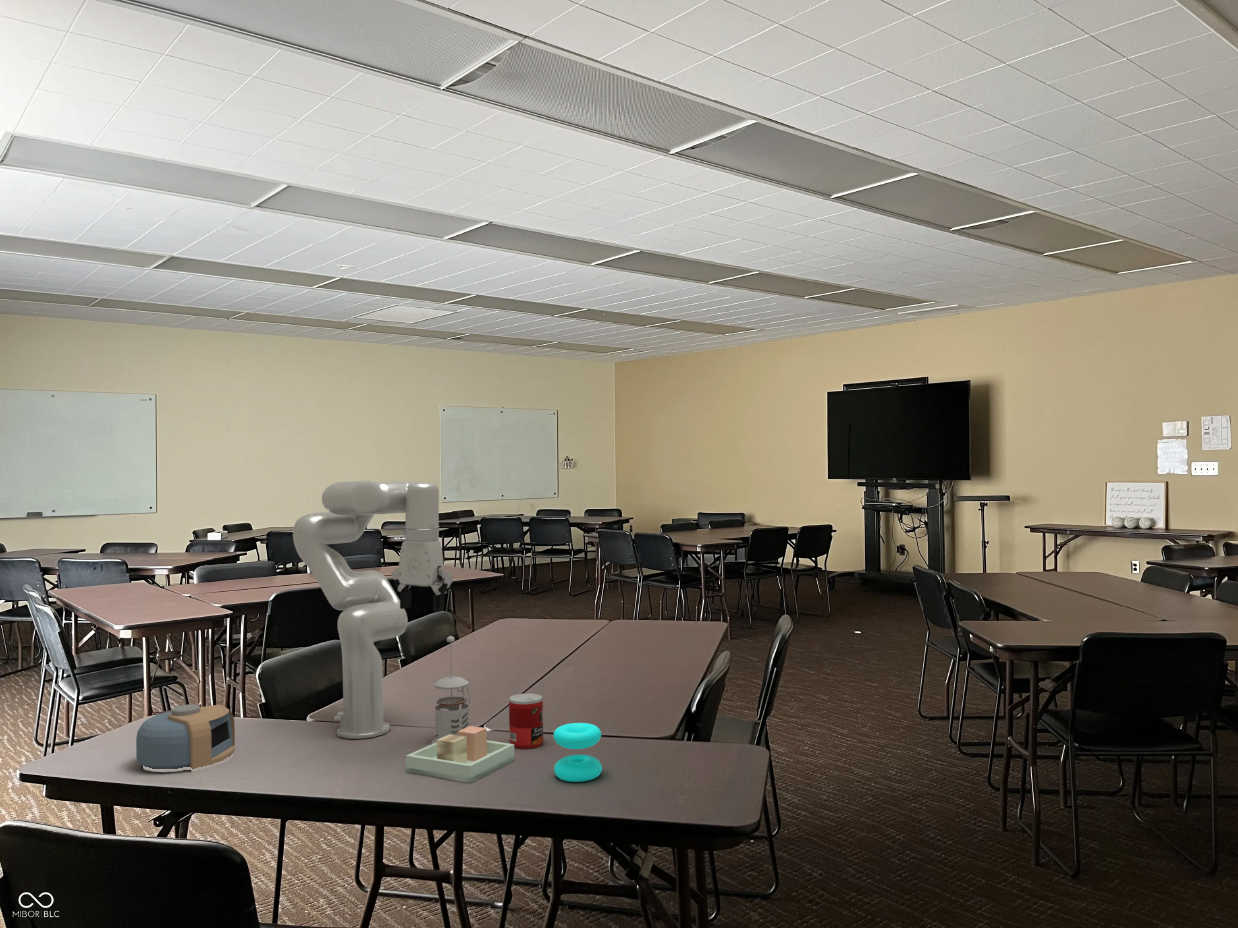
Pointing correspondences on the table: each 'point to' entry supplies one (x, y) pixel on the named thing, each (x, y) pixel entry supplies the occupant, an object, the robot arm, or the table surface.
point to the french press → (451, 706)
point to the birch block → (452, 748)
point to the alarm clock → (186, 737)
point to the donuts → (578, 765)
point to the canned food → (526, 720)
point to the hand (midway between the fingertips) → (421, 609)
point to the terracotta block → (475, 742)
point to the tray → (464, 772)
